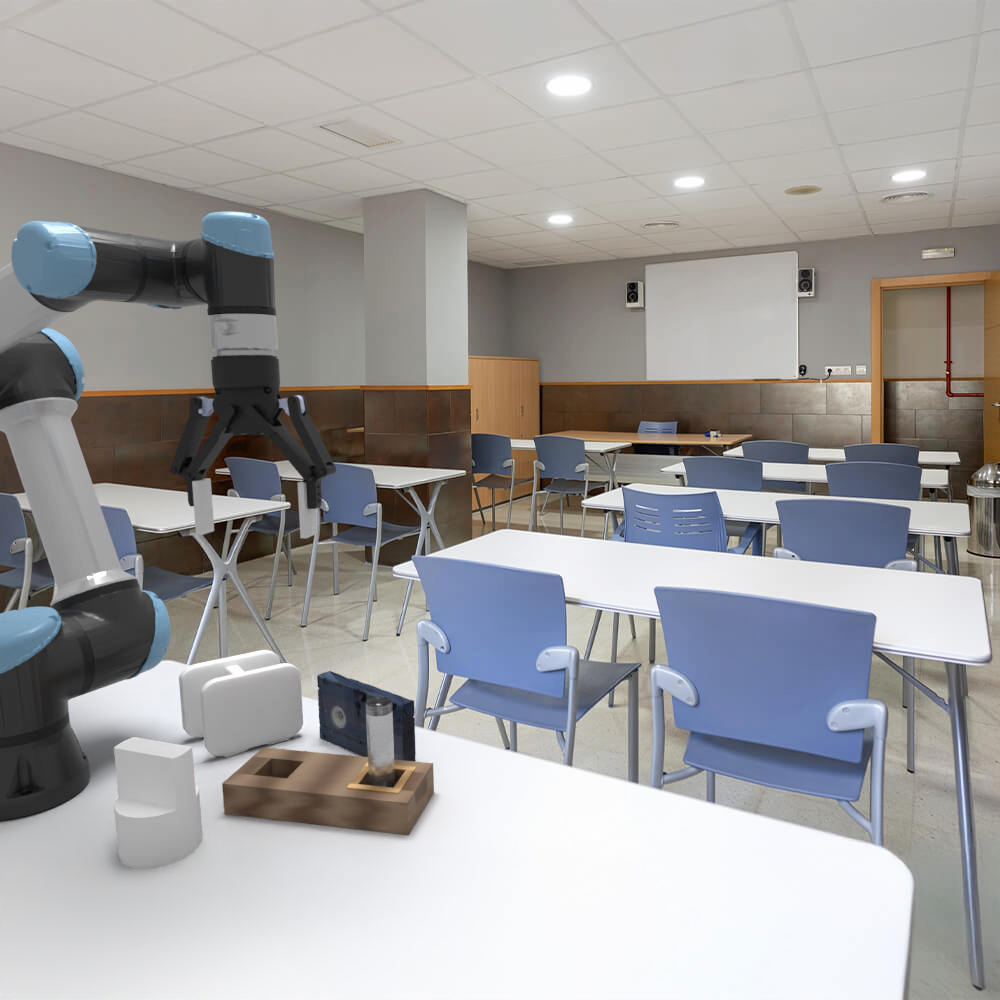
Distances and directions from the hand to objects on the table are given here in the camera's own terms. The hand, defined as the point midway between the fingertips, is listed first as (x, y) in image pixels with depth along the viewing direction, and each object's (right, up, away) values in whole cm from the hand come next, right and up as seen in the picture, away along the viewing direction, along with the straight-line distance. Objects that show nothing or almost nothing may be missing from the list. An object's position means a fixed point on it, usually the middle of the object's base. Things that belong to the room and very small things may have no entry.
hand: (256, 534), depth 97 cm
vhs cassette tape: (+10, -32, +19) cm, 39 cm away
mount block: (+8, -34, +6) cm, 35 cm away
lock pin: (+15, -34, +4) cm, 37 cm away
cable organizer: (-9, -32, +25) cm, 41 cm away
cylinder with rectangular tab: (-10, -36, -3) cm, 38 cm away
